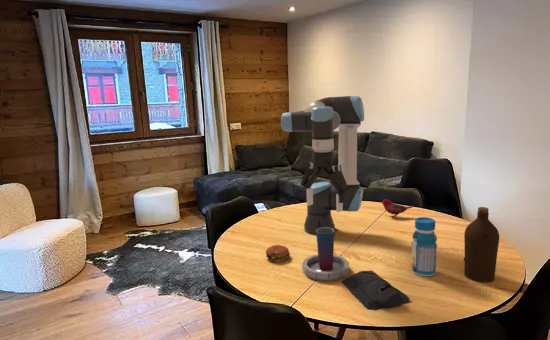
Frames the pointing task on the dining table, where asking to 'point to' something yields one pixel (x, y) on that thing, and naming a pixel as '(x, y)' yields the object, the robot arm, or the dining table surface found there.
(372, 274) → the dark slate chunk
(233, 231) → the dining table surface
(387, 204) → the decorative bird figurine
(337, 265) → the tray
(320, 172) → the robot arm
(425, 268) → the beverage bottle
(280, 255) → the burger
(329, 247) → the cup
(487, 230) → the olive oil
